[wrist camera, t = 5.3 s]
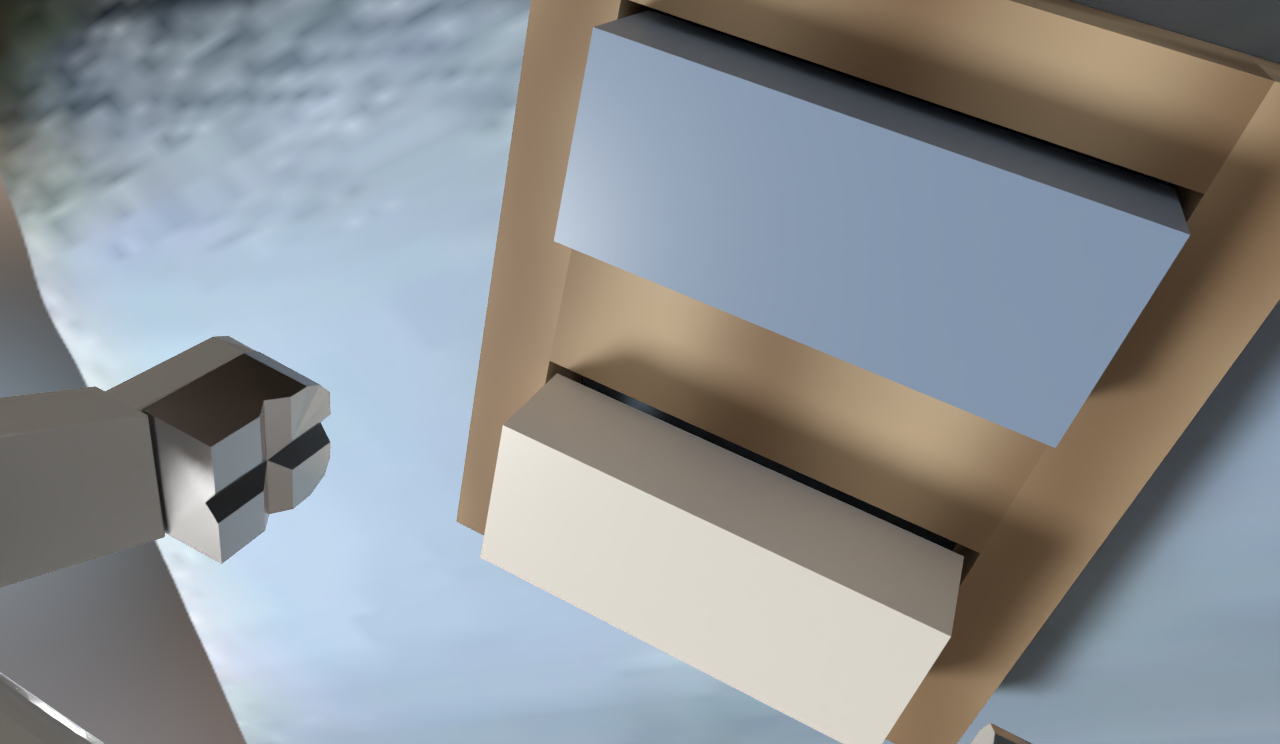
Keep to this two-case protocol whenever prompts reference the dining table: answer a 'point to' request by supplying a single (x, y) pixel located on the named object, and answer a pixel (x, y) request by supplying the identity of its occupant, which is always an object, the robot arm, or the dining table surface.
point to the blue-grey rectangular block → (863, 220)
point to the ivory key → (720, 561)
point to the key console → (868, 403)
